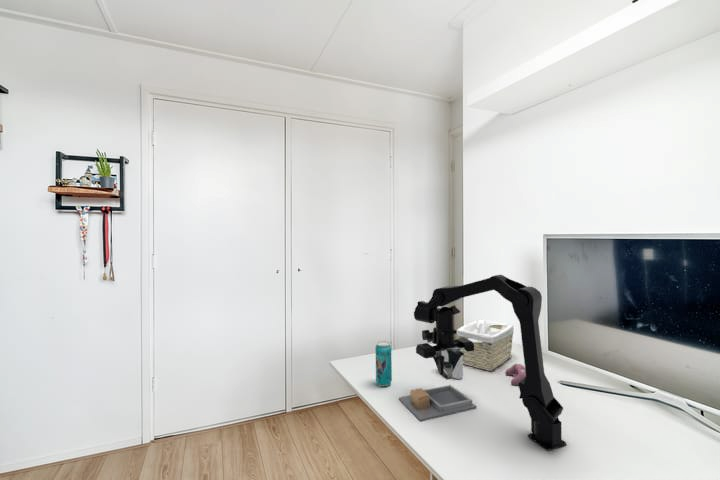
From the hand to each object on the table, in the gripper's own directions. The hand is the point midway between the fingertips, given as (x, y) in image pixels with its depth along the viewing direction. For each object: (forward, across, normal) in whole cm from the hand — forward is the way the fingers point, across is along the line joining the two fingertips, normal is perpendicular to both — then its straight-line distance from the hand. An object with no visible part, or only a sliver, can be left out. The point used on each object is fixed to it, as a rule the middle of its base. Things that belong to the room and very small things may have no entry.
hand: (445, 373), depth 108 cm
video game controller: (+10, -33, -4) cm, 35 cm away
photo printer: (+9, -13, -17) cm, 24 cm away
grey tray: (+9, +4, 0) cm, 10 cm away
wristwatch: (+1, 0, 0) cm, 1 cm away
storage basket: (+9, -36, -24) cm, 44 cm away
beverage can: (+9, +14, -19) cm, 25 cm away
